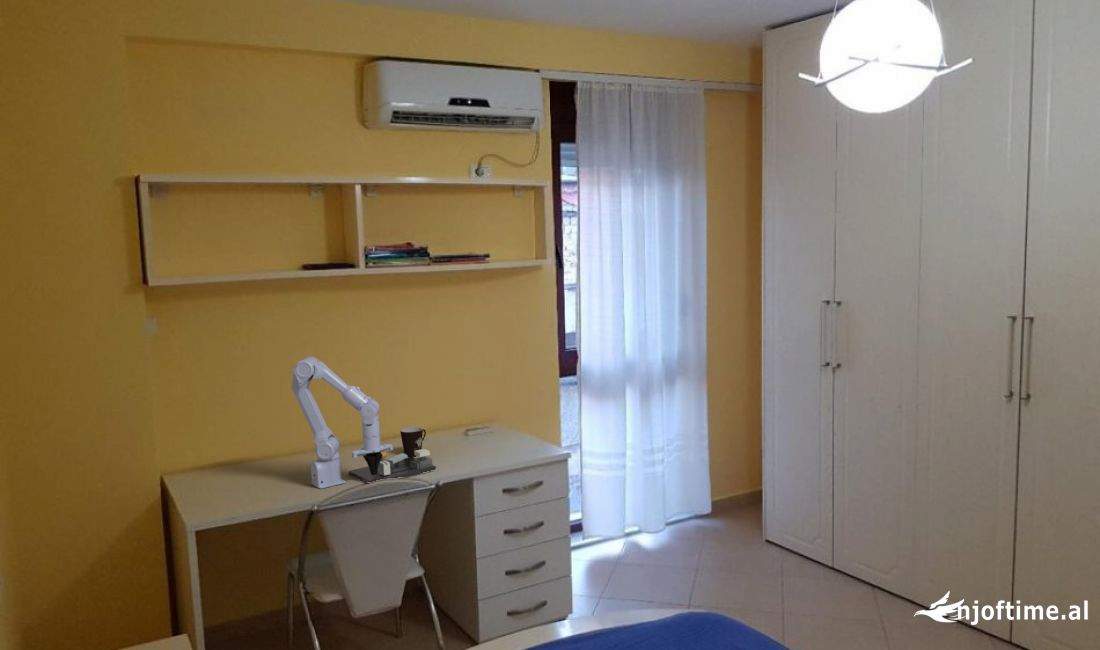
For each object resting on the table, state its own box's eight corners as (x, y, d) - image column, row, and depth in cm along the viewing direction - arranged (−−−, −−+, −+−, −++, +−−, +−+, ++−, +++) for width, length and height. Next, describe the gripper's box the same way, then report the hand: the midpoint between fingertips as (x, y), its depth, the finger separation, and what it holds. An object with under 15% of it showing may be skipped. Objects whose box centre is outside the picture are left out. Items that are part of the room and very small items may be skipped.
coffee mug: (407, 459, 312) (405, 433, 310) (398, 454, 319) (396, 429, 318) (435, 453, 318) (433, 428, 317) (425, 449, 325) (424, 424, 324)
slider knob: (384, 475, 285) (383, 464, 284) (378, 473, 288) (378, 461, 287) (390, 474, 286) (389, 462, 286) (385, 471, 289) (384, 460, 289)
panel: (371, 485, 280) (370, 474, 279) (349, 474, 294) (348, 463, 294) (436, 470, 295) (435, 459, 295) (411, 460, 309) (410, 450, 309)
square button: (420, 463, 293) (419, 453, 293) (414, 461, 296) (414, 450, 296) (430, 461, 296) (429, 450, 295) (424, 459, 299) (424, 448, 298)
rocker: (393, 463, 297) (392, 461, 297) (388, 461, 300) (387, 459, 300) (407, 457, 300) (407, 454, 300) (402, 455, 303) (402, 452, 303)
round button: (377, 465, 293) (377, 455, 292) (372, 463, 296) (371, 452, 296) (388, 463, 295) (388, 452, 295) (383, 460, 299) (382, 450, 298)
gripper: (356, 441, 275) (359, 481, 277) (396, 433, 284) (398, 472, 286) (347, 437, 281) (350, 476, 282) (386, 430, 290) (389, 468, 291)
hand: (374, 474), depth 284 cm, fingers closed
